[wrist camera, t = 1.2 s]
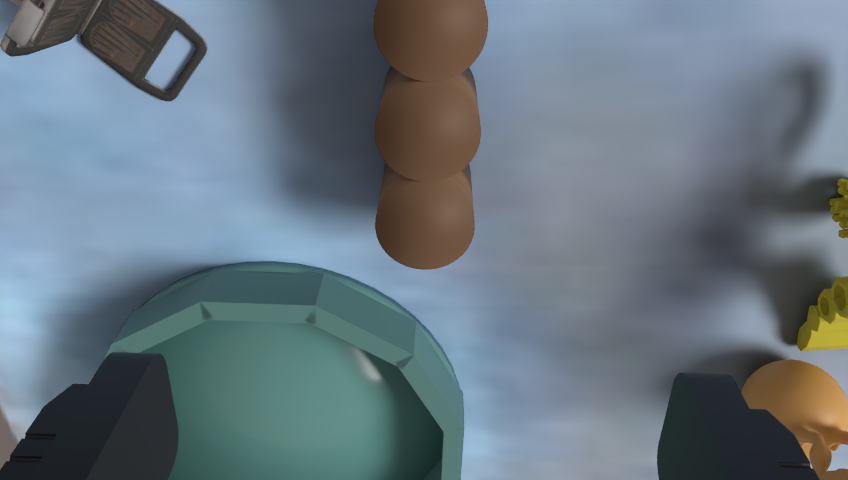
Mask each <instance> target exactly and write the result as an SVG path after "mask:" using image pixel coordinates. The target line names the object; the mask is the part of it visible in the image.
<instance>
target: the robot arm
mask: <svg viewBox="0 0 848 480" xmlns="http://www.w3.org/2000/svg"><path fill="white" fill-rule="evenodd" d="M25 434H26V436H25V439H21V441H20V442H19V444H18V445H17V447H16V448H15V449H14V451H13V452H12V454H11V455H10V461H9V462H8V461H7V462H6V463H5V464H4V465H3V467H2V468H1V470H0V480H168V478H169V476H170V473H171V471H172V468H173V466H174V463H175V459H176V455H177V449H178V439H179V431H178V423H177V417H176V412H175V407H174V401H173V396H172V390H171V385H170V380H169V374H168V369H167V364H166V361H165V358H164V357H163V355H162V354H158V353H128V352H112V353H110V354H109V355H108V356H107V357H106V358H105V359H104V361H103V363H102V364H101V366H100V367H99V369H98V370H97V372H96V374H95V375H94V377H93V378H92V380H91V381H90V383H89V384H72V385H71V386H70V387H69V388H67V389H66V390H65V391H63V392H62V393H61V394H60V395H58V396H57V397H56V398H54V399H53V400H52V401H50V402H49V403H48V404H47V405H45V406H44V407H43V409H42V410H41V412H40V413H39V414H38V416H37V417H36V419H35V420H34V422H33V423H32V425H31V426H30V428H29V429H28V430H27V432H26V433H25ZM657 465H658V475H659V480H820V479H819V477H818V475H817V474H816V472H815V470H814V469H811V467H810V461H809V460H808V458H807V456H806V454H805V453H804V451H803V449H802V447H801V446H800V444H799V442H798V441H797V439H796V437H795V435H794V434H793V433H792V432H791V431H790V430H789V429H787V428H786V427H785V426H784V425H783V424H782V423H781V422H780V421H779V420H777V419H776V418H775V417H774V416H773V415H772V414H771V413H770V412H769V411H767V410H766V409H749V407H748V405H747V403H746V401H745V399H744V397H743V395H742V393H741V391H740V389H739V387H738V386H737V384H736V382H735V380H734V379H733V378H732V377H731V376H730V375H727V374H699V373H679V374H678V375H677V376H676V378H675V380H674V383H673V387H672V391H671V395H670V399H669V403H668V408H667V412H666V416H665V420H664V424H663V428H662V432H661V436H660V440H659V445H658V454H657Z"/></svg>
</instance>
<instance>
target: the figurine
mask: <svg viewBox="0 0 848 480" xmlns="http://www.w3.org/2000/svg"><path fill="white" fill-rule="evenodd" d="M741 393H742V395H743V397H744V399H745V401H746V403H747V405H748V407H749V409H766V410H767V411H769V412H770V413H771V414H772V415H773V416H774V417H775V418H776V419H777V420H779V421H780V422H781V423H782V424H783V425H784V426H785V427H786V428H787V429H789V430H790V431H791V432H792V433H793V434H794V435H795V437H796V439H797V441H798V442H799V444H800V446H801V447H802V449H803V451H804V453H805V454H806V456H807V458H808V460H810V462H811V464H812V467H813V469H814V470H815V472H816V474H817V475H818V477H819V479H820V480H848V469H838V470H836V471H827V469H828V468H829V466H830V463H831V457H832V454H831V451H836V450H837V449H839V447H840V445H841V444H846V445H848V432H847V429H848V401H847V398H846V396H845V394H844V392H843V390H842V388H841V387H840V385H839V384H838V383H837V382H836V380H835V379H834V378H833V377H832V376H830V375H829V374H828V373H827V372H825V371H824V370H822V369H821V368H819V367H817V366H815V365H813V364H810V363H807V362H804V361H799V360H779V361H774V362H771V363H768V364H766V365H764V366H762V367H760V368H759V369H757V370H756V371H755V372H754V373H753V374H752V375H751V376H750V377H749V378H748V379H747V381H746V382H745V384H744V386H743V388H742V391H741ZM826 471H827V472H826Z"/></svg>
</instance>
